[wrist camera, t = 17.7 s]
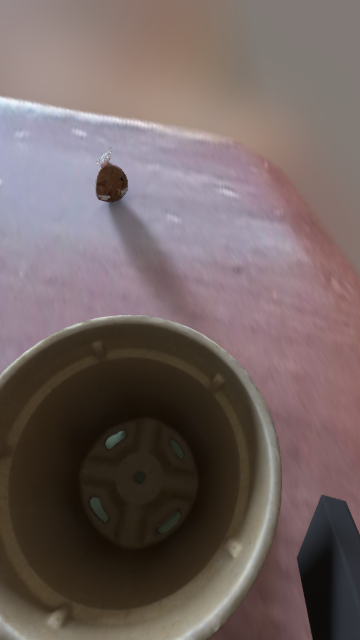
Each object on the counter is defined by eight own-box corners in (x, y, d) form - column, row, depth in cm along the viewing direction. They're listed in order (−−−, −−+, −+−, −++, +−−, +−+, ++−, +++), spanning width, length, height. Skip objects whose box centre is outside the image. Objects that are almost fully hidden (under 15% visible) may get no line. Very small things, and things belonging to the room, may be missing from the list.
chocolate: (115, 215, 27) (107, 172, 23) (93, 205, 27) (82, 161, 24) (136, 193, 28) (131, 150, 25) (114, 184, 29) (106, 140, 25)
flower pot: (116, 360, 20) (85, 274, 13) (260, 439, 18) (324, 392, 11) (6, 517, 16) (-136, 529, 9) (176, 642, 14) (185, 800, 7)
